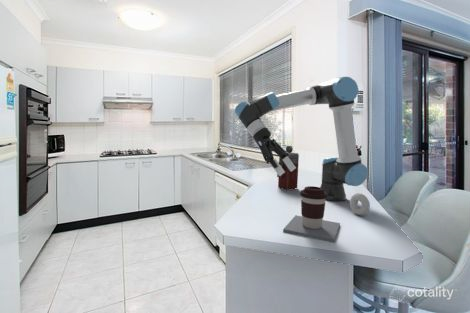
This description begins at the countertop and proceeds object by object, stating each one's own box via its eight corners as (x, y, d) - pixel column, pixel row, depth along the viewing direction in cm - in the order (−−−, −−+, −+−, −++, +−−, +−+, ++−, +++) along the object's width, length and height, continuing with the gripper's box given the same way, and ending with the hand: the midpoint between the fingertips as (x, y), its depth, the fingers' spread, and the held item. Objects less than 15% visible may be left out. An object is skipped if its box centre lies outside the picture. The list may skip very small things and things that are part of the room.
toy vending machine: (275, 187, 168) (276, 145, 165) (287, 186, 174) (289, 145, 171) (284, 190, 160) (286, 146, 157) (297, 188, 166) (299, 146, 163)
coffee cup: (315, 233, 92) (318, 192, 90) (293, 224, 100) (295, 187, 98) (330, 226, 98) (332, 188, 97) (308, 219, 106) (310, 184, 104)
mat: (295, 217, 111) (295, 215, 111) (339, 225, 103) (339, 223, 103) (283, 231, 95) (283, 229, 95) (334, 242, 87) (334, 239, 87)
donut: (370, 218, 112) (372, 196, 111) (365, 219, 111) (366, 196, 110) (353, 211, 121) (354, 190, 120) (347, 212, 120) (348, 191, 119)
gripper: (265, 137, 123) (291, 172, 118) (239, 138, 102) (269, 181, 97) (276, 127, 120) (304, 163, 114) (252, 126, 99) (284, 170, 93)
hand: (288, 172), depth 105 cm, fingers open, 13 cm apart
